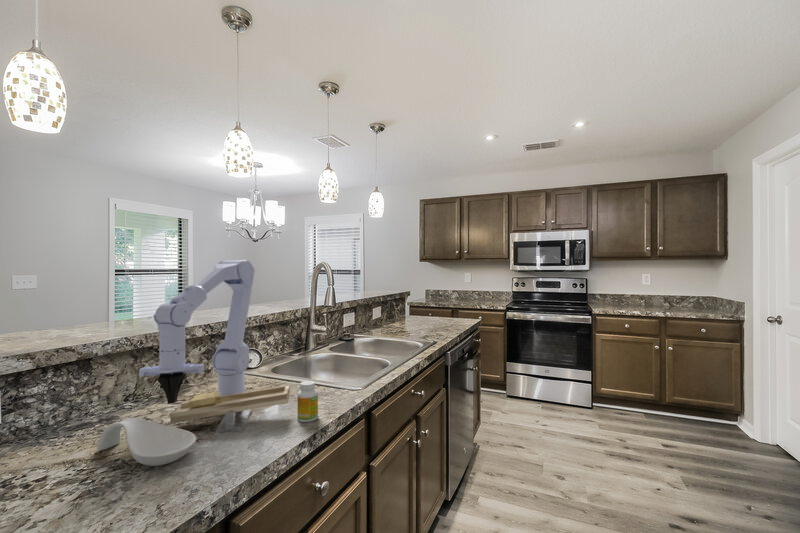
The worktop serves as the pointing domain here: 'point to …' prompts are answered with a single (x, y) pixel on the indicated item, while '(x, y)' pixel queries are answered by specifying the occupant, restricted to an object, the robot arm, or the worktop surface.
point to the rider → (205, 400)
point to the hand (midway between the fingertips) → (172, 402)
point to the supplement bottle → (307, 402)
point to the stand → (233, 421)
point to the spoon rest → (149, 440)
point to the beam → (234, 403)
